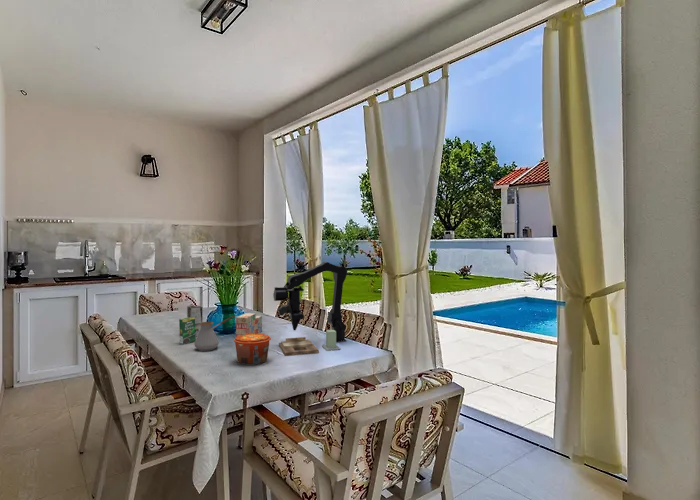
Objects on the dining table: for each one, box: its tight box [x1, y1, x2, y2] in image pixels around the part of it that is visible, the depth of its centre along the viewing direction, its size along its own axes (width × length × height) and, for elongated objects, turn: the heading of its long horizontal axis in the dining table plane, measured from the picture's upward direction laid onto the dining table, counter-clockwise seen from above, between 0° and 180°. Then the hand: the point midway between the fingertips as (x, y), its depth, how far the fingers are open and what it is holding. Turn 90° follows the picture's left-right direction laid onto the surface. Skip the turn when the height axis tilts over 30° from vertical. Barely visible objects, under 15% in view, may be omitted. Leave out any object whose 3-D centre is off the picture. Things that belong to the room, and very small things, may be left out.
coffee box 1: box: [186, 304, 203, 336], centre depth 239 cm, size 9×6×16 cm
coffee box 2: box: [178, 317, 197, 345], centre depth 222 cm, size 8×3×13 cm, turn 147°
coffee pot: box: [193, 315, 237, 352], centre depth 213 cm, size 21×12×15 cm, turn 131°
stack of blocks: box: [235, 312, 263, 338], centre depth 239 cm, size 21×6×12 cm, turn 170°
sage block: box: [325, 329, 337, 348], centre depth 212 cm, size 4×4×8 cm
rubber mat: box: [321, 344, 341, 352], centre depth 212 cm, size 7×9×1 cm
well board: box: [278, 340, 320, 357], centre depth 209 cm, size 16×19×2 cm
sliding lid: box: [280, 336, 313, 348], centre depth 213 cm, size 14×9×3 cm, turn 108°
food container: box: [233, 332, 272, 366], centre depth 190 cm, size 16×16×11 cm
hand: (294, 330), depth 219 cm, fingers closed
